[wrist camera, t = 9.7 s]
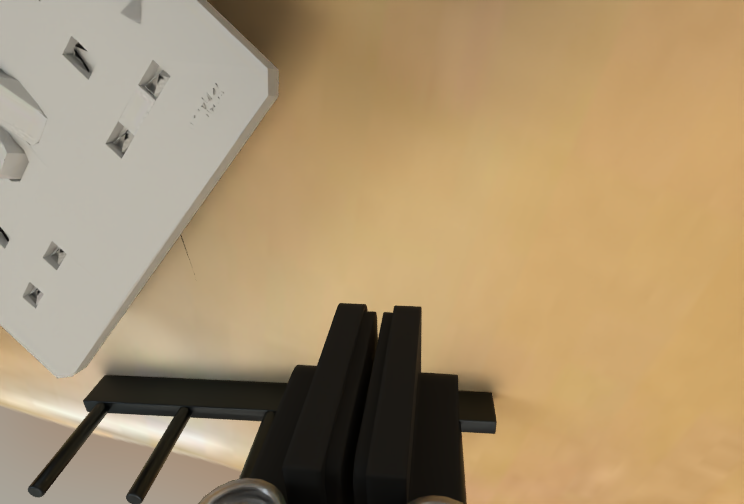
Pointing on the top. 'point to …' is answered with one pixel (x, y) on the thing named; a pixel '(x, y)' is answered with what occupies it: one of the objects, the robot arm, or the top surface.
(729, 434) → the top surface
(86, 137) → the wall socket
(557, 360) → the top surface
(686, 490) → the top surface
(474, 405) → the dish rack
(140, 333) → the top surface
